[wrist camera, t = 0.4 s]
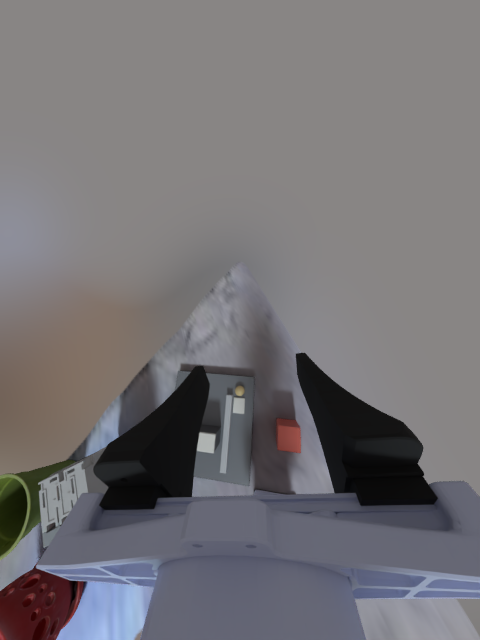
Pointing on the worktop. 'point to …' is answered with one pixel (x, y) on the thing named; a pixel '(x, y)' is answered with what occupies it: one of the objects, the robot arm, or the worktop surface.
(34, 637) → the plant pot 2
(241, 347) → the worktop surface
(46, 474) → the plant pot
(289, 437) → the red rectangular block
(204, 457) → the breaker panel
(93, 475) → the circuit breaker
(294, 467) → the worktop surface
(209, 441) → the breaker handle
